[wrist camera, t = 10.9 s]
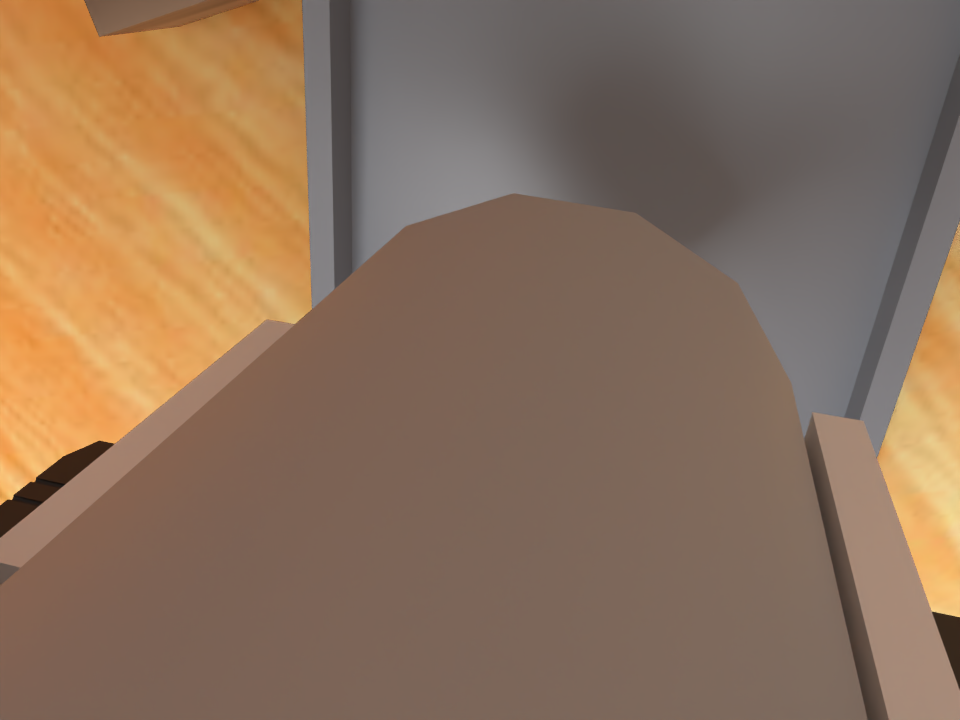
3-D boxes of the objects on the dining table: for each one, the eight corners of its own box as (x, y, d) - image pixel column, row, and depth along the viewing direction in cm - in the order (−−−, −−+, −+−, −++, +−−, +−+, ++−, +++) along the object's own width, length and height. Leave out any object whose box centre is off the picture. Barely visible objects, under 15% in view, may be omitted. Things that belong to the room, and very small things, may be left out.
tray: (330, -132, 23) (297, -140, 21) (1035, -91, 19) (1070, -97, 17) (339, 418, 31) (316, 447, 29) (834, 512, 27) (844, 551, 26)
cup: (384, 112, 12) (-374, 463, 4) (897, 317, 12) (1463, 1304, 3) (280, 514, 16) (-195, 1134, 8) (658, 679, 16) (611, 1545, 7)
